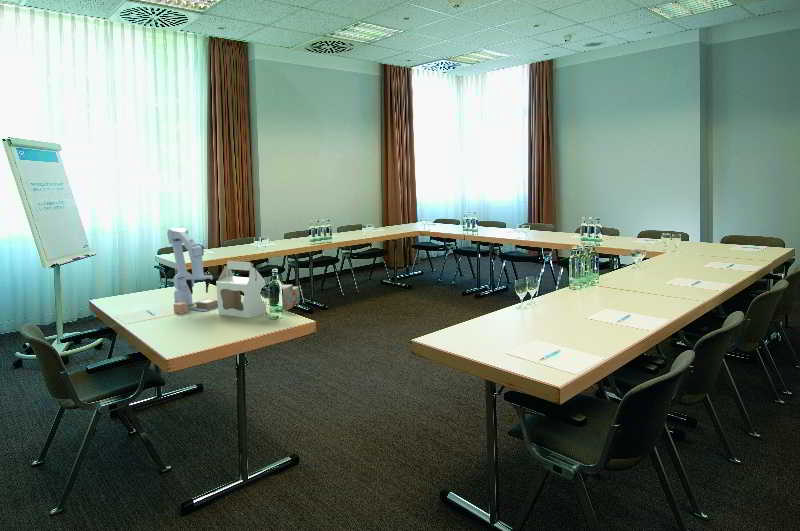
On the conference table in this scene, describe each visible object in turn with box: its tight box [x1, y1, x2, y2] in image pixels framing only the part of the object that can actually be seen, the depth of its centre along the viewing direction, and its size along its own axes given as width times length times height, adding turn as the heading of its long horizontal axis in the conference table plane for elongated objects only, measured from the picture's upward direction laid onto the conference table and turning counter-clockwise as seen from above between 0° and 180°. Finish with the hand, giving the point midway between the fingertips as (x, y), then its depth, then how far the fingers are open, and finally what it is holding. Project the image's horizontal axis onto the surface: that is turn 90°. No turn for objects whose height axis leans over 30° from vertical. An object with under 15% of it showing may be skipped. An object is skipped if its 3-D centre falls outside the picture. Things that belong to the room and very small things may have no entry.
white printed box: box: [281, 284, 301, 312], centre depth 297 cm, size 21×6×12 cm, turn 169°
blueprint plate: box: [188, 298, 218, 313], centre depth 300 cm, size 12×16×4 cm
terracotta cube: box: [173, 302, 189, 314], centre depth 290 cm, size 5×5×5 cm
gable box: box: [216, 260, 267, 319], centre depth 283 cm, size 22×13×28 cm, turn 63°
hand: (199, 293), depth 293 cm, fingers open, 7 cm apart
